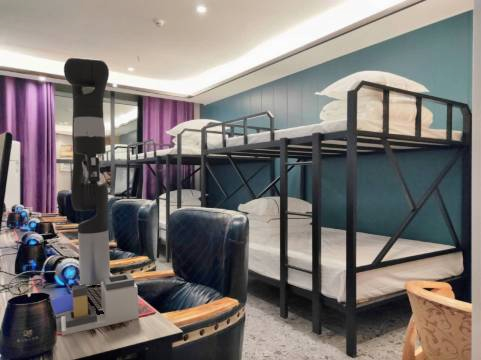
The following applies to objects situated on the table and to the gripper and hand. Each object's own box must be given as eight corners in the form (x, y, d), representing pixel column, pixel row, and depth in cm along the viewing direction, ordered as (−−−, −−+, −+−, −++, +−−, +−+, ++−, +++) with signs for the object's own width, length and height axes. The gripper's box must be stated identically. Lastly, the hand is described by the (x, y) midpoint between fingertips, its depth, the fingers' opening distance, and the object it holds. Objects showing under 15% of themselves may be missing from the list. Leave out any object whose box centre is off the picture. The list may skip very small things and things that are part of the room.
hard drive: (45, 299, 97) (55, 313, 87) (76, 292, 102) (88, 304, 92) (45, 305, 97) (55, 319, 87) (77, 297, 102) (89, 310, 93)
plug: (73, 318, 84) (72, 286, 84) (87, 315, 86) (85, 283, 85) (74, 323, 81) (72, 290, 81) (88, 320, 83) (87, 287, 83)
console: (61, 320, 85) (59, 282, 85) (131, 305, 93) (130, 271, 93) (61, 335, 77) (60, 294, 77) (138, 318, 86) (137, 280, 85)
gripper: (72, 138, 94) (75, 196, 95) (75, 133, 82) (78, 200, 82) (101, 138, 98) (104, 195, 99) (108, 133, 85) (111, 198, 86)
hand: (92, 197), depth 90 cm, fingers open, 8 cm apart
